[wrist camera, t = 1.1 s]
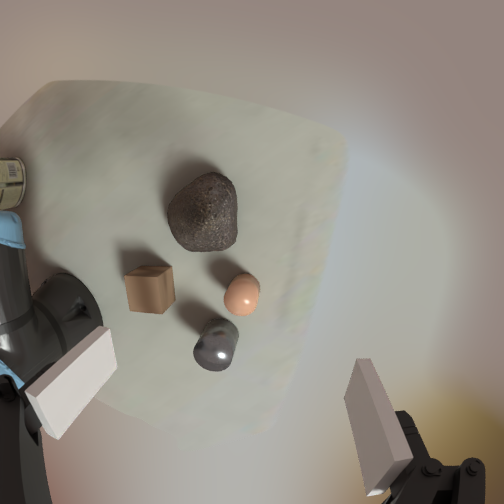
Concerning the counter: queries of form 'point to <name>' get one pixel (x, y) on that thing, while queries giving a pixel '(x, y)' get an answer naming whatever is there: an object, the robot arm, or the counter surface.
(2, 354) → the robot arm
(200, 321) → the counter surface
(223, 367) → the metal tin
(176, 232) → the stone
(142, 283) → the walnut block
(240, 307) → the peach rounded capsule
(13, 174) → the coffee can
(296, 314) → the counter surface
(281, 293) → the counter surface
